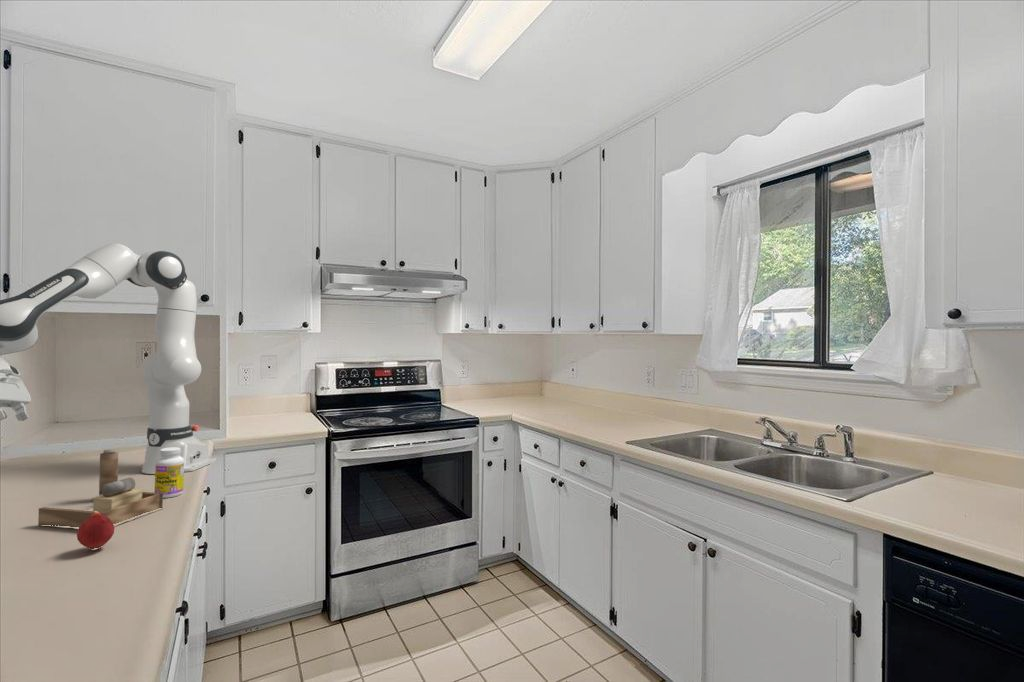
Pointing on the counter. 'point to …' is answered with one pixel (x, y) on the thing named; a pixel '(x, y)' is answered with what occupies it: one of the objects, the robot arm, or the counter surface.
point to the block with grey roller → (116, 495)
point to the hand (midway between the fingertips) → (13, 419)
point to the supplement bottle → (169, 473)
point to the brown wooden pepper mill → (108, 468)
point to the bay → (115, 515)
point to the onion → (95, 531)
